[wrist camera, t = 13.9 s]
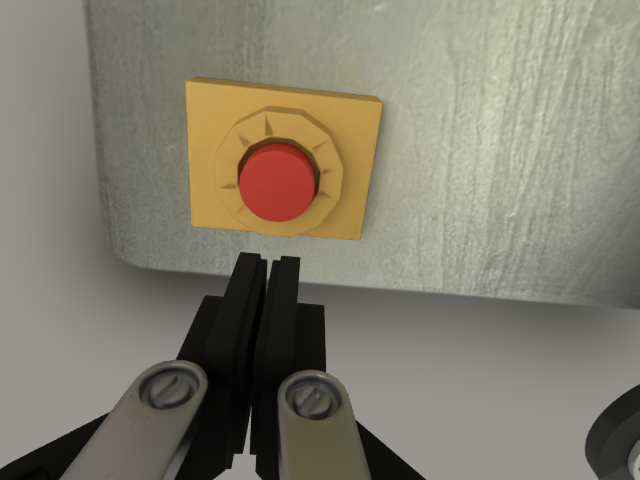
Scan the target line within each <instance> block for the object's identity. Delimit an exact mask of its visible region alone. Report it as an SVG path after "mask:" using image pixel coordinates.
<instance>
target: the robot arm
mask: <svg viewBox="0 0 640 480" xmlns="http://www.w3.org/2000/svg"><path fill="white" fill-rule="evenodd" d="M299 269H300V257H290V256H281V260H280V261H278V260H273V263H272V268H271V273H270V278H269V283H268V288H267V293H266V280H267V260H266V259H261V256H260V254H256V253H245V252H240V254H239V257H238V260H237V262H236V265H235V268H234V270H233V273H232V276H231V278H230V281H229V284H228V287H227V289H226V292H225V295H224V297H219V296H208V295H206V296H205V297H204V299H203V301H202V303H201V305H200V307H199V309H198V312H197V314H196V316H195V318H194V320H193V323H192V325H191V327H190V329H189V332H188V334H187V336H186V338H185V340H184V343H183V345H182V347H181V349H180V352H179V354H178V356H177V358H176V360H171V361H164V362H162V363H159V364H156V365H153V366H151V367H150V368H148V369H146V370H145V371H143V372H142V373H141V374H140V375H139V376H138V377H137V378H136V379H135V380H134V382H133V383H132V384H131V386H130V387H129V389H128V390H127V391H126V392H125V393H124V395H123V396H122V397H121V399H120V400H119V402H118V403H117V404H116V405H115V407H114V408H113V409H112V411H111V412H109V413H107V414H105V415H103V416H101V417H99V418H97V419H95V420H93V421H91V422H89V423H87V424H85V425H83V426H81V427H80V428H77V429H76V430H73V431H71V432H70V433H68V434H66V435H64V436H62V437H60V438H58V439H56V440H54V441H52V442H50V443H48V444H46V445H44V446H42V447H40V448H38V449H36V450H34V451H32V452H30V453H28V454H27V455H25V456H23V457H21V458H19V459H17V460H15V461H13V462H11V463H9V464H8V465H6V466H4V467H3V468H1V469H0V480H213V479H214V478H216V477H217V476H218V475H220V474H221V473H222V472H223V471H225V470H226V469H231V467H232V462H233V456H234V454H243V449H244V445H245V439H246V434H247V428H248V423H249V417H250V412H251V434H250V455H256V471H255V472H256V473H257V474H258V475H259V477H260V478H261V479H262V480H426V479H425V478H423V477H422V476H421V475H420V474H419V473H418V472H416V471H415V470H414V469H413V468H412V467H411V466H409V465H408V464H407V463H406V462H405V461H404V460H402V459H401V458H400V457H399V456H398V455H396V454H395V453H394V452H393V451H392V450H391V449H389V448H388V447H387V446H386V445H385V444H384V443H382V442H381V441H380V440H379V439H378V438H377V437H375V436H374V435H373V434H372V433H371V432H369V431H368V430H367V429H366V428H365V427H364V426H362V425H361V424H360V423H359V422H358V421H356V420H355V417H354V414H353V410H352V406H351V403H350V399H349V395H348V393H347V391H346V389H345V387H344V385H343V384H342V383H341V382H340V381H339V380H338V379H337V378H335V377H333V376H332V375H330V374H328V373H326V350H325V315H324V305H315V304H304V303H297V295H298V282H299ZM251 406H252V411H251ZM628 469H629V472H630V474H631V475H632V477H633V478H634V479H635V480H640V439H639V440H638V441H637V442H636V443H635V445H634V446H633V448H632V450H631V452H630V455H629V457H628Z"/></svg>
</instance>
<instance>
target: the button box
mask: <svg viewBox="0 0 640 480" xmlns="http://www.w3.org/2000/svg"><path fill="white" fill-rule="evenodd" d="M185 86H186V109H187V131H188V154H189V177H190V200H191V223H192V226H195V227H207V228H219V229H231V230H243V231H254V232H257V233H259V234H260V235H272V236H284V237H293V236H295V235H302V236H313V237H325V238H337V239H349V240H360V237H361V231H362V225H363V219H364V214H365V208H366V202H367V196H368V190H369V184H370V178H371V173H372V167H373V161H374V155H375V149H376V143H377V137H378V131H379V126H380V120H381V114H382V108H383V102H382V101H381V100H379V99H378V98H377V97H373V96H364V95H355V94H346V93H337V92H328V91H319V90H310V89H301V88H292V87H283V86H274V85H265V84H256V83H247V82H238V81H229V80H220V79H211V78H201V77H196V78H193V79H190V80H187V81H186V82H185ZM272 142H283V143H288V144H291V145H293V146H295V147H297V148H299V149H300V150H301V151H303V152H304V153H305V155H306V156H307V157H308V158H309V160H310V162H311V164H312V167H313V170H314V183H315V190H314V196H313V199H312V201H311V204H310V205H309V207H308V208H307V209H306V210H305V211H304V212H303V213H302V214H301V215H300V216H298V217H296V218H294V219H292V220H289V221H284V222H273V221H268V220H265V219H262V218H260V217H258V216H257V215H255V214H254V213H252V212H251V211H250V210H249V209H248V207H247V206H246V205H245V203H244V202H243V200H242V197H241V194H240V190H239V179H240V175H241V172H242V170H243V168H244V166H245V164H246V162H247V160H248V158H249V157H250V155H251V154H252V153H253V152H254V151H255V150H256V149H257V148H259V147H261V146H262V145H265V144H267V143H272Z"/></svg>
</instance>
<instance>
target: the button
mask: <svg viewBox="0 0 640 480" xmlns="http://www.w3.org/2000/svg"><path fill="white" fill-rule="evenodd" d="M239 190H240V194H241V197H242V200H243V202H244V203H245V205H246V206H247V207H248V209H249V210H250V211H251V212H252V213H254V214H255V215H257V216H258V217H260V218H262V219H265V220H268V221H273V222H284V221H289V220H292V219H294V218H296V217H298V216H300V215H301V214H302V213H303V212H304V211H305V210H306V209H307V208H308V207H309V205H310V204H311V201H312V199H313V196H314V190H315V183H314V170H313V167H312V164H311V162H310V160H309V158H308V157H307V156H306V155H305V153H304V152H303V151H301V150H300V149H299V148H297V147H295V146H293V145H291V144H288V143H283V142H272V143H267V144H265V145H262V146H261V147H259V148H257V149H256V150H255V151H254V152H253V153H252V154H251V155H250V157H249V158H248V160H247V162H246V164H245V166H244V168H243V170H242V172H241V175H240V179H239Z"/></svg>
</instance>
